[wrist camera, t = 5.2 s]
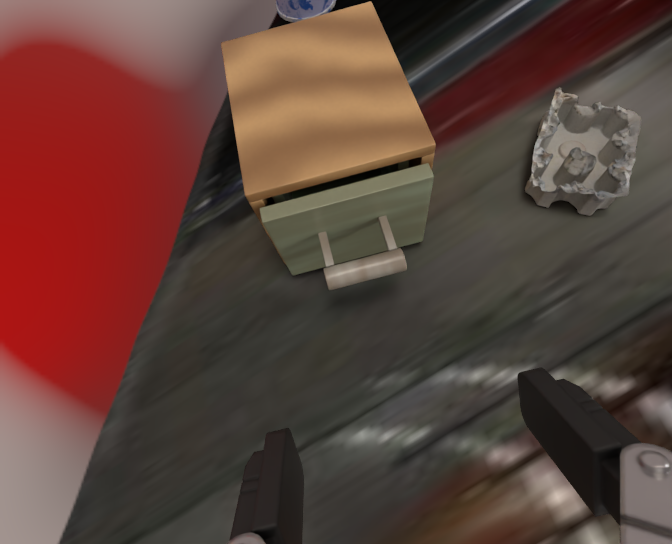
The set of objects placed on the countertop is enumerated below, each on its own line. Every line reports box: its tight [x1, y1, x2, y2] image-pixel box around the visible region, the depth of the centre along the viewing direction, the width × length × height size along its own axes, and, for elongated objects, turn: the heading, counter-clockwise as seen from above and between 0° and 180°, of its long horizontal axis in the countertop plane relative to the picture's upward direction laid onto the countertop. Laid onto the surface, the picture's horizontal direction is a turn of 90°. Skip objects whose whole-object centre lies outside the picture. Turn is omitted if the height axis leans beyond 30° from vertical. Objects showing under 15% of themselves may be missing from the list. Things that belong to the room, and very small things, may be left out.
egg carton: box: [525, 87, 641, 216], centre depth 33 cm, size 11×8×4 cm
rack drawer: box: [260, 160, 434, 290], centre depth 31 cm, size 19×12×9 cm, turn 13°
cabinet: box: [221, 1, 436, 265], centre depth 33 cm, size 16×13×11 cm
